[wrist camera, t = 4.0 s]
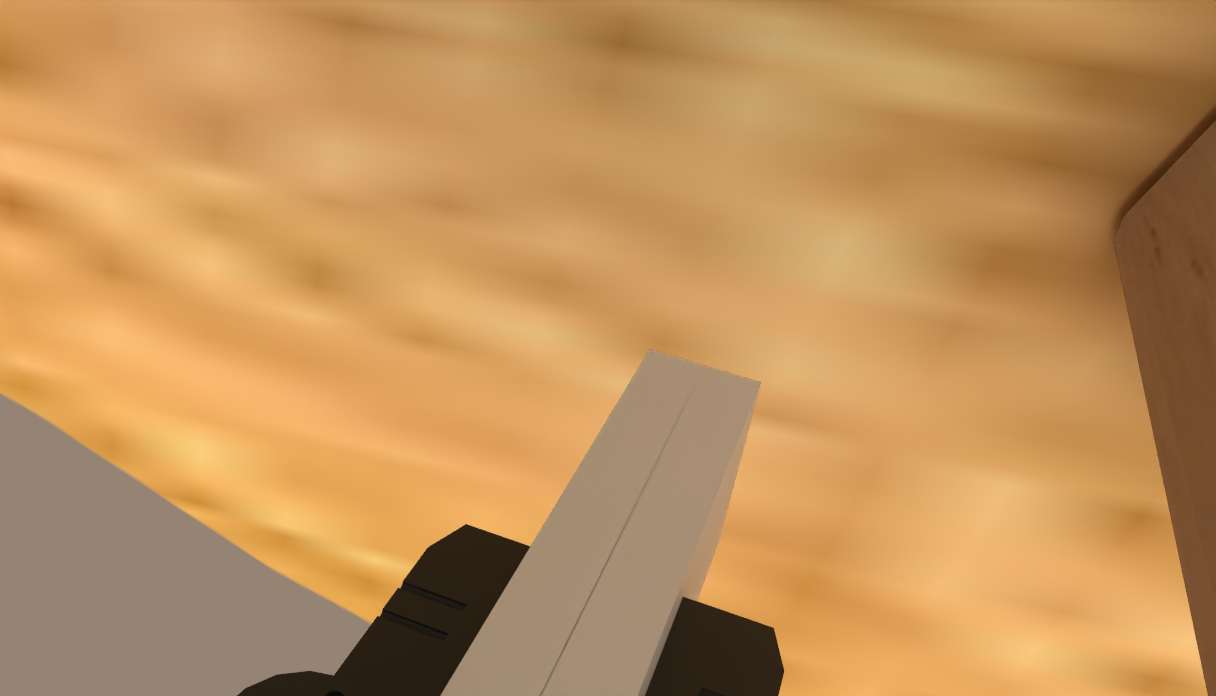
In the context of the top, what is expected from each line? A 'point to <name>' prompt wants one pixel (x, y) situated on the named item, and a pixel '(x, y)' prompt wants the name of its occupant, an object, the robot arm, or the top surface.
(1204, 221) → the block
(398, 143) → the top surface
